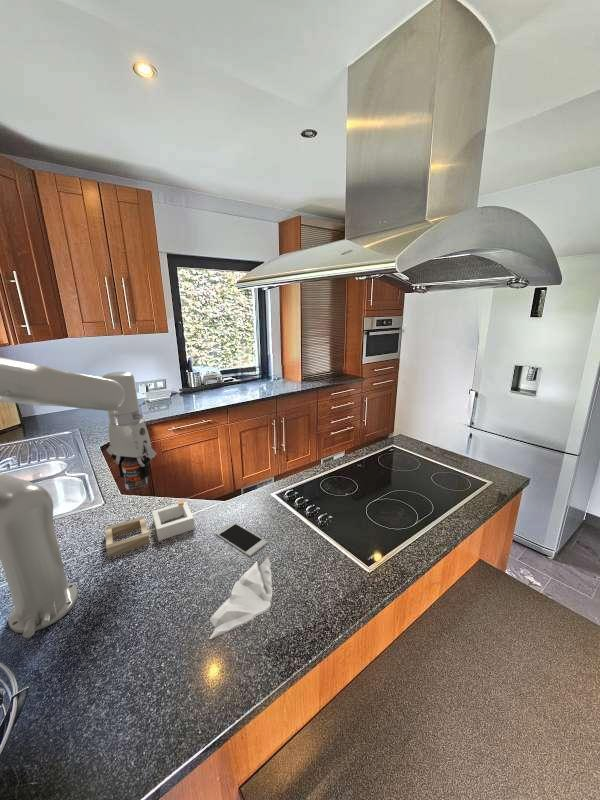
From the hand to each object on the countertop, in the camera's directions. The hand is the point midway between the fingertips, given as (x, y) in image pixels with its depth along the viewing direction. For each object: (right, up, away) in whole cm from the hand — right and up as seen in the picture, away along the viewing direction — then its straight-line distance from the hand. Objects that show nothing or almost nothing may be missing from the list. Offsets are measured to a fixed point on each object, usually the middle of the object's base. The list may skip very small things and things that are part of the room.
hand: (135, 475), depth 94 cm
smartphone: (+30, -20, +3) cm, 36 cm away
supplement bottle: (0, -4, +1) cm, 4 cm away
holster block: (-4, -20, +3) cm, 20 cm away
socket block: (+8, -18, +9) cm, 22 cm away
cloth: (+35, -26, -16) cm, 46 cm away
